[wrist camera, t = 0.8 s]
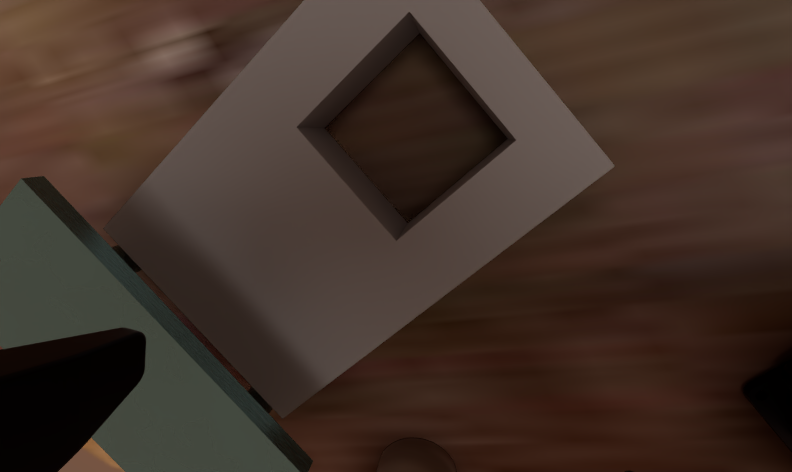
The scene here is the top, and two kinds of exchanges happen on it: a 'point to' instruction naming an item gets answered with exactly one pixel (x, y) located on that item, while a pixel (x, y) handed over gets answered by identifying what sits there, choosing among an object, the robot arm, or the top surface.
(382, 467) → the peg
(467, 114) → the top surface
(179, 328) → the green raised slab
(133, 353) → the robot arm
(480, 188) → the socket
